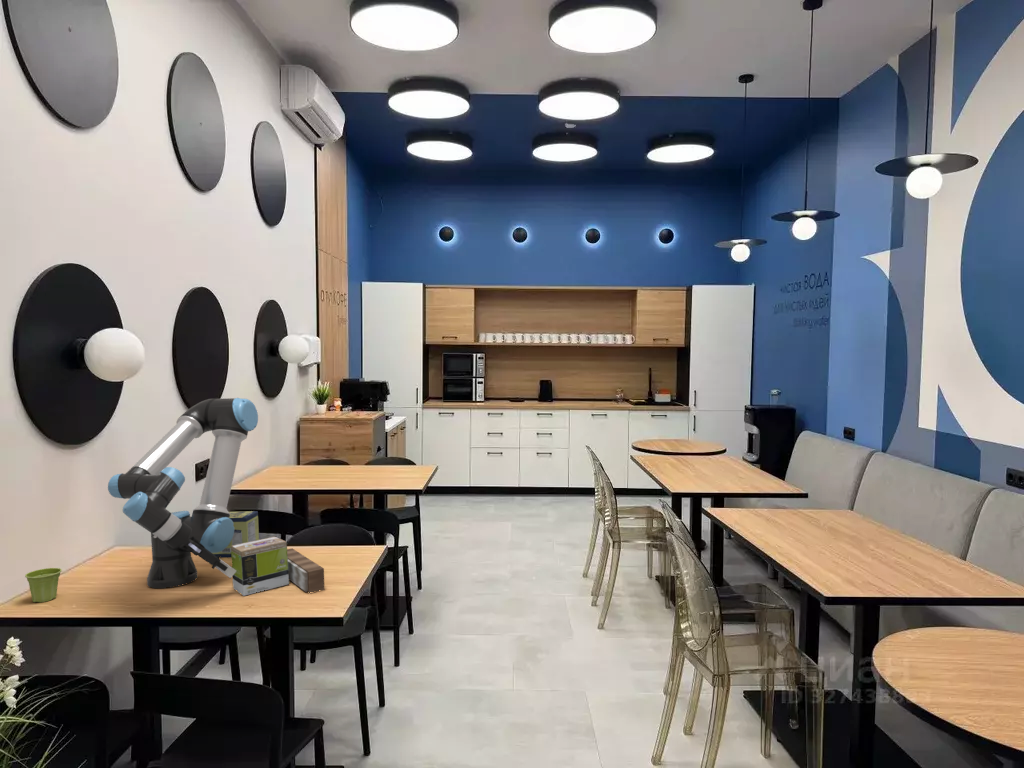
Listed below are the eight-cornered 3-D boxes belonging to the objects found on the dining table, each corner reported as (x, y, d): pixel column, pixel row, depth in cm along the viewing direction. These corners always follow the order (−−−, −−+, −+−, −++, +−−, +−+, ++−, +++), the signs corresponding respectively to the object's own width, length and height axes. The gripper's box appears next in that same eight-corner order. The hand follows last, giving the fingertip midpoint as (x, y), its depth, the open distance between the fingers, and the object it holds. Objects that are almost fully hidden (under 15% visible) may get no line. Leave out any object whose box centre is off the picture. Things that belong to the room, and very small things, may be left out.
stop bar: (276, 571, 225) (275, 551, 225) (292, 567, 229) (292, 548, 229) (306, 594, 202) (306, 572, 201) (324, 589, 205) (323, 568, 205)
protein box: (221, 550, 253) (220, 511, 253) (260, 549, 253) (258, 510, 252) (208, 558, 243) (206, 517, 242) (248, 557, 242) (247, 517, 242)
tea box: (277, 578, 218) (276, 535, 217) (289, 585, 210) (288, 541, 210) (232, 589, 208) (230, 544, 207) (242, 597, 200) (241, 550, 200)
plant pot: (60, 591, 208) (59, 565, 208) (65, 599, 201) (64, 572, 201) (24, 599, 202) (23, 572, 202) (28, 607, 195) (27, 579, 195)
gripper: (159, 537, 197) (219, 578, 207) (167, 546, 186) (229, 589, 197) (178, 517, 200) (236, 559, 210) (186, 525, 189) (247, 569, 200)
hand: (233, 574), depth 203 cm, fingers closed
